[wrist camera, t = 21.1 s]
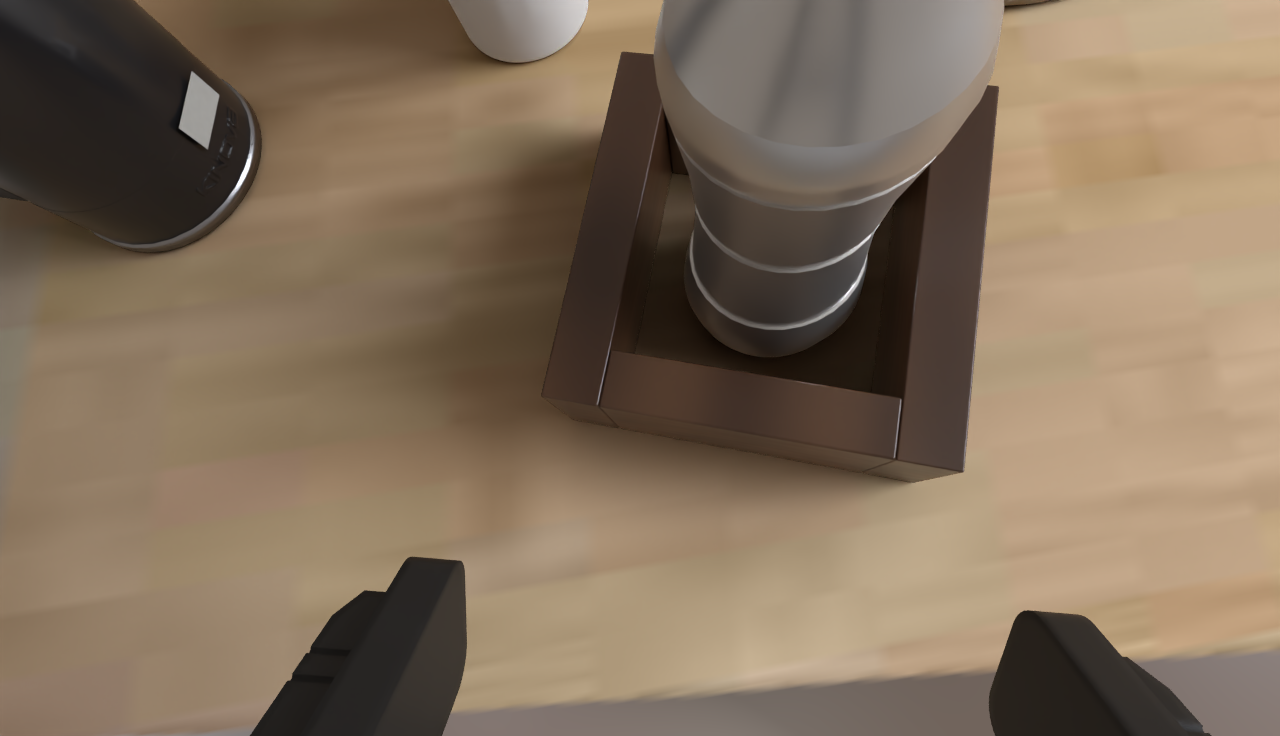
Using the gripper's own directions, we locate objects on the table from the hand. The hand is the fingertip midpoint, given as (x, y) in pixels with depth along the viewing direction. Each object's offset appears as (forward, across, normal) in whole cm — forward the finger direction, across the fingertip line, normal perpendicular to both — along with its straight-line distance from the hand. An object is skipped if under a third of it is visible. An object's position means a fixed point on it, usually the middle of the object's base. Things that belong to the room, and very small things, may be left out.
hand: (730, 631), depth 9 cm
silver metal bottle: (+19, -3, 0) cm, 19 cm away
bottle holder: (+19, -3, -1) cm, 19 cm away
